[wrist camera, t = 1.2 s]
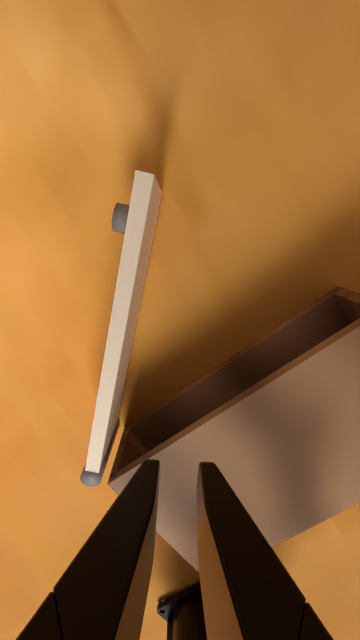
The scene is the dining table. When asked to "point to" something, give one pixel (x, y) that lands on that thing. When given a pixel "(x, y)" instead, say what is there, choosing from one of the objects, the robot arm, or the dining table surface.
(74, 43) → the dining table surface
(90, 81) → the dining table surface
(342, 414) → the walnut box
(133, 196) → the door
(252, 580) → the robot arm
